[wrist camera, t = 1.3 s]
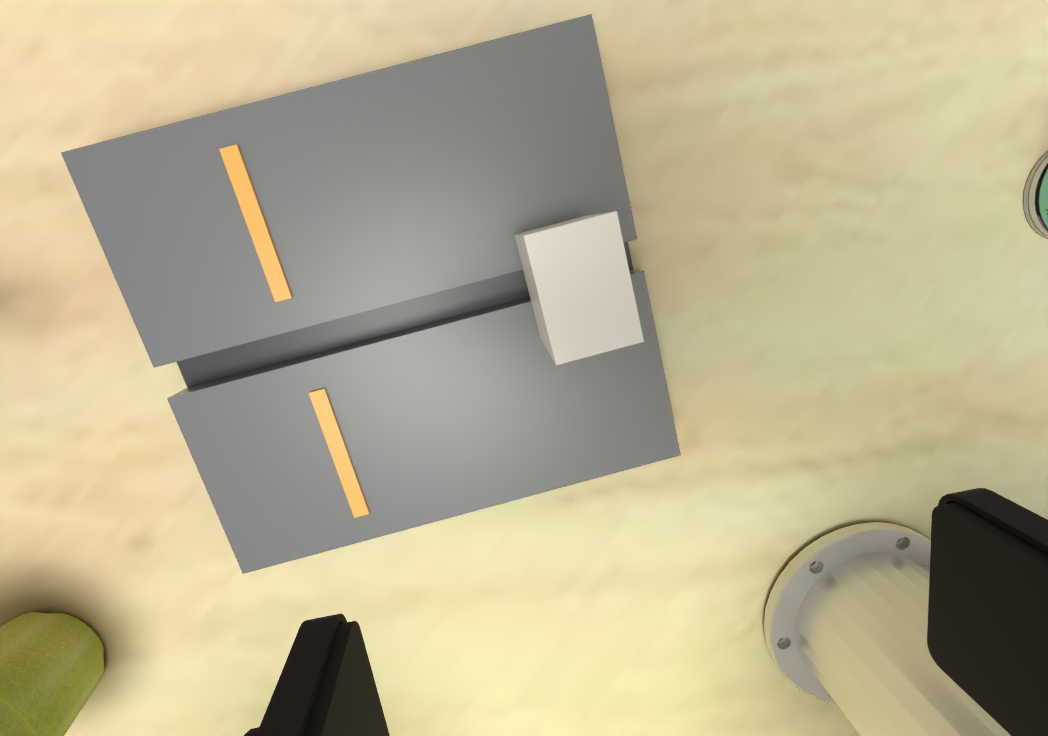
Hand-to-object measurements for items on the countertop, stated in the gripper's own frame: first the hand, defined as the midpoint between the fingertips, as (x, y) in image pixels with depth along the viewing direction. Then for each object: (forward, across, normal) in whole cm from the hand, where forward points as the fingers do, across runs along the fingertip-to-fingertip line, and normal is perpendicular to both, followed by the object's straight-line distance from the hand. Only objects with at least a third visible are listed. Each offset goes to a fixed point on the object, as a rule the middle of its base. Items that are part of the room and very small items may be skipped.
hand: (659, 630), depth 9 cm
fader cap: (+22, -2, -3) cm, 22 cm away
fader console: (+24, +6, -2) cm, 24 cm away
